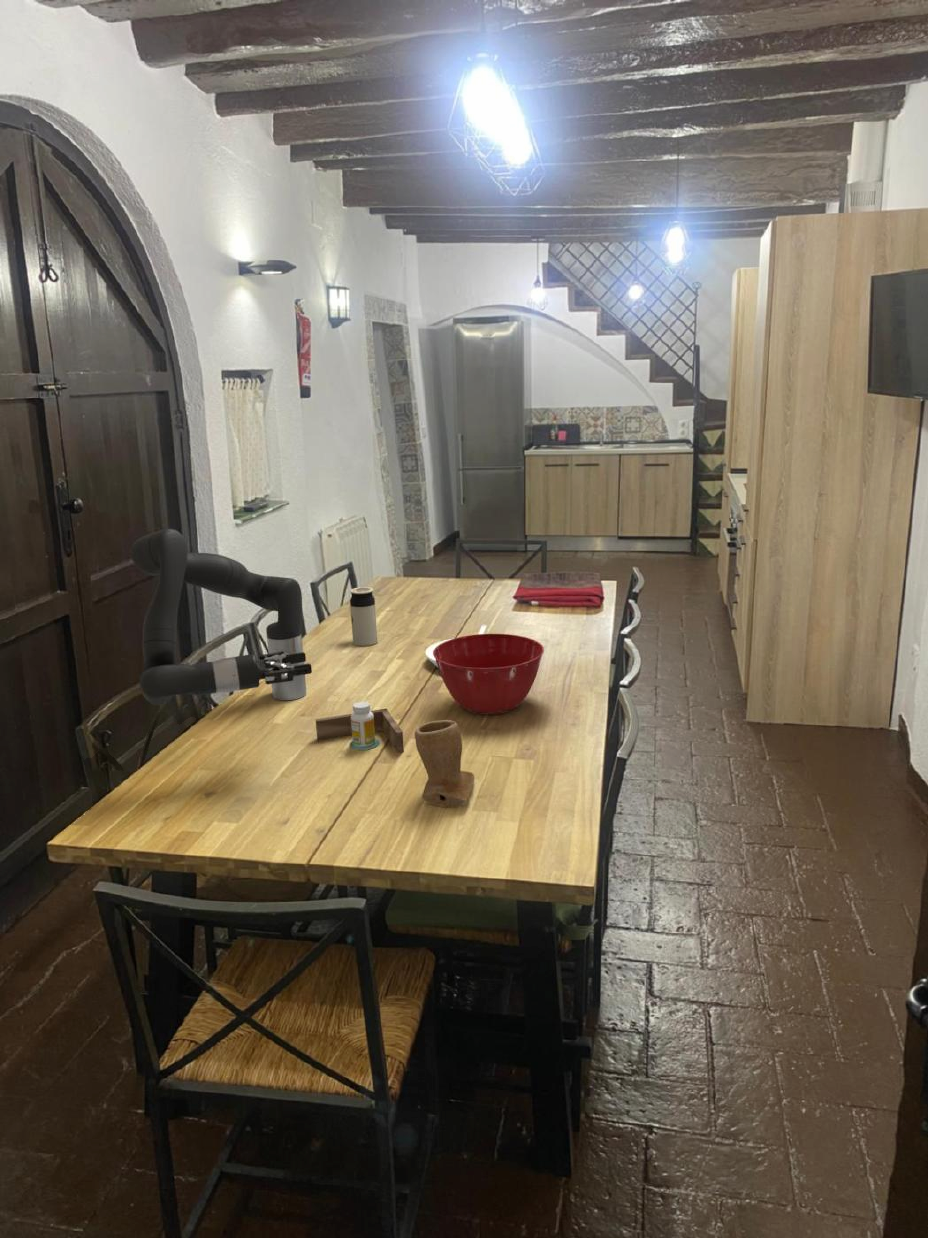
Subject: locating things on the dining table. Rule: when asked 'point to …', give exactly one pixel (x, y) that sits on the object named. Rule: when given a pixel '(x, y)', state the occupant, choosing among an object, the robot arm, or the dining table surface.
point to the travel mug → (363, 616)
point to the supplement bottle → (362, 725)
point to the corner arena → (342, 728)
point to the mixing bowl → (489, 670)
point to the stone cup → (443, 764)
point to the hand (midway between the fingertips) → (308, 662)
